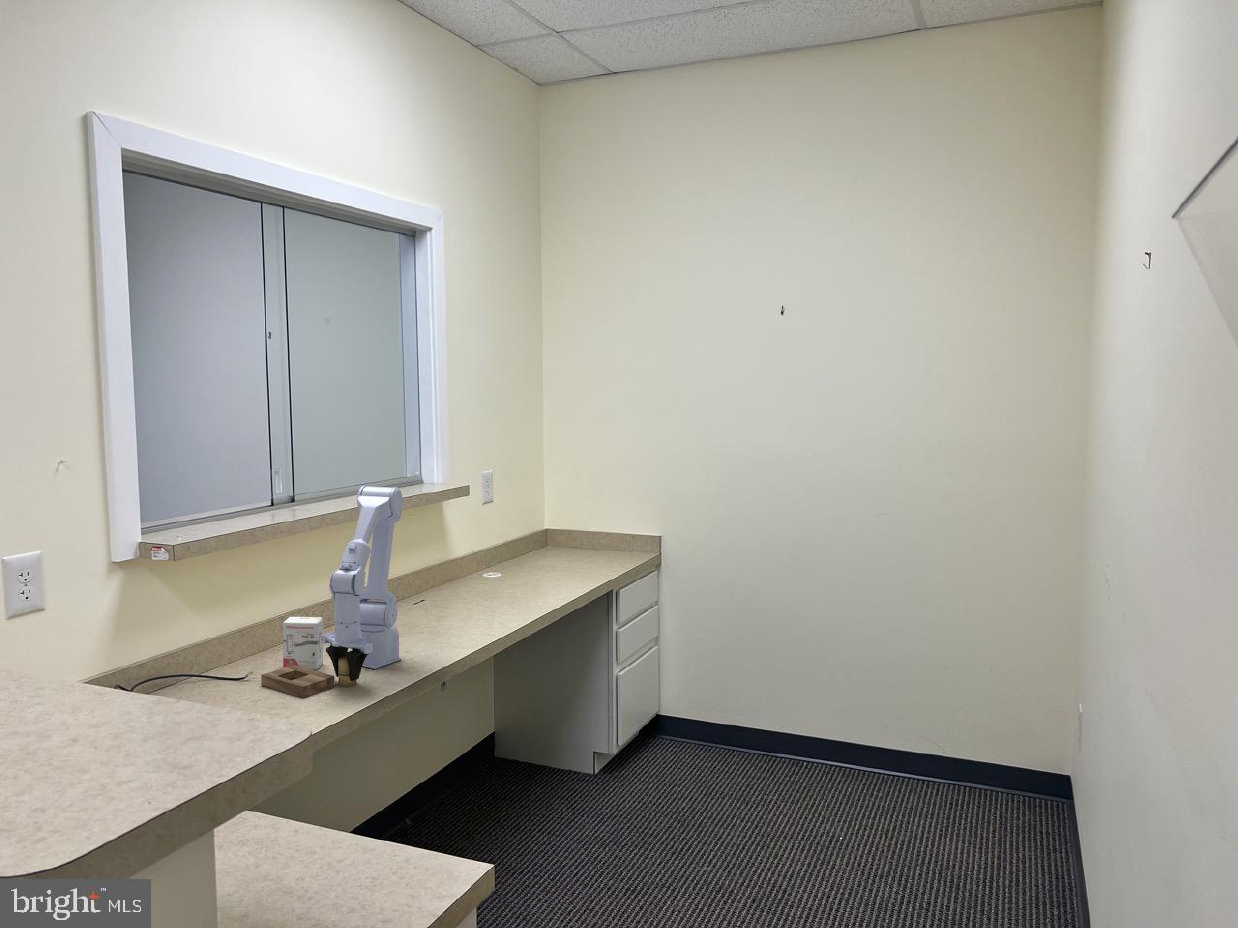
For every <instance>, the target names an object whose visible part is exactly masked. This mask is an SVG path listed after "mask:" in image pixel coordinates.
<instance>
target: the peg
mask: <svg viewBox="0 0 1238 928" xmlns="http://www.w3.org/2000/svg"><path fill="white" fill-rule="evenodd" d="M337 678H338V685H339V687H343V688H346V687H353V686H356V685H357V680H354V681H350V677H349V665H348V661H347V658H346V656H344V657H340V658H339V659H338V677H337Z"/></svg>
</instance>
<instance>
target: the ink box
mask: <svg viewBox="0 0 1238 928" xmlns="http://www.w3.org/2000/svg"><path fill="white" fill-rule="evenodd" d="M282 625H283V626H282V628H283V629H282V630H283V633H282V634H283V636H282V641H283V642H282V643H283V644H282V646H283V647H282V649H283V650H282V661H283V662H282V663H283V664H282V665H283V666H282V668H284V667H287V666H290V665H296V666H300V667H304V668H307V669H311V670H315V671H318V669H319V668H320V667H322V665H323V664H324V643H322V635H324V618H322V617H321V616H318V617H317V616H290V617H288V618H286V620H284V621H283V624H282Z"/></svg>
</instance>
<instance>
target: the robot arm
mask: <svg viewBox="0 0 1238 928" xmlns="http://www.w3.org/2000/svg"><path fill="white" fill-rule="evenodd" d="M403 502H404V497H403V494H402V491H401V490H400V488H399V487H397V486H396V487H395V486H394V487H387V486H386V487H383V486H367V485H362V486H361V487H359V490H358V492H357V494H356V503H357V504H356V505H357V509H358V512H359V515H358V519H357V524H356V527H355V531H354V536H353V539H352V540H351V541H349V542H347V544H346V547H344V548H345V549H344V552H343V554H342V557H341V560H340V563H339V565H338V569H336V570H334V571H332V573H331V576H330V578H329V579H330V580H329V584H328V585H329V591H330V594H331V601H332V602H333V603H334V605H333V606H334V607H333V608H334V609H333V610H334V611H333V612H334V614H333V615H334V621H333V623H334V629H333V630H334V632H333V633H330V632H328V633H325V634H324V633H323V635H322V643H323V644H329V646H328V647H326V648H325V652H326V654H327V655H328V656H329V659H330V661H331V663H332V667H333V670H334V674H335V677H337V678H339V677H338V659H339V658H340V657H344V656H346V658H347V661H348V665H349V677H350V681H354V680H356V681H357V680H359V679H360V676H361V671H362V668H363V667H365V668H368V669H369V668H370V669H373V670H376V669H379V668H382V667H384V666H387V665H390V664H392V663H395V662H398V661H401V660H402V657H401V656H400V634H399V631H398V629H397V627H396V626H395V624H396V622H397V617H398V605H397V601H398V599H397V596H395V595H394V593H392V592H391V591H390V590H389V589H388V581H389V574H390V573H389V572H390V564H391V563H390V562H391V556H392V555H391V554H392V547H393V539H394V530H395V524H396V523H398V522H400V521H401V516H402V511H403V504H404V503H403ZM371 539H372V540H371ZM370 540H371V547H370V546H369V543H370ZM368 561H369V565H368V575H367V581H366V580H365V579H366V574H367V573H366V571H365V569H366V567H367V563H368ZM365 581H366V582H365ZM365 584H366V587H365ZM372 600H375V601H372ZM349 649H351V650H349Z"/></svg>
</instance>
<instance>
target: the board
mask: <svg viewBox="0 0 1238 928" xmlns="http://www.w3.org/2000/svg"><path fill="white" fill-rule="evenodd" d="M260 679H261V680H260V683H261V686H263V687H266V688H268V689H269V688H270V689H272V690H276V691H278V692H279V691H280V692H283V693H286V694H289V695H293V696H295V697H300V698H307V697H309V696H312V695H314V694H317V693H320V692H323V691H326V690H328V689H331V688H334V687H335V686H336V685H335V675H332V674H328V673H325V672H323V671H322V672H321V671H318V670H311V669H307V668H304V667H300V666H296V665H290V666H287V667H284V668H283V667H282V668H278V669H276V670H272V671H269V672H266V673H262V674H261V677H260Z"/></svg>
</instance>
